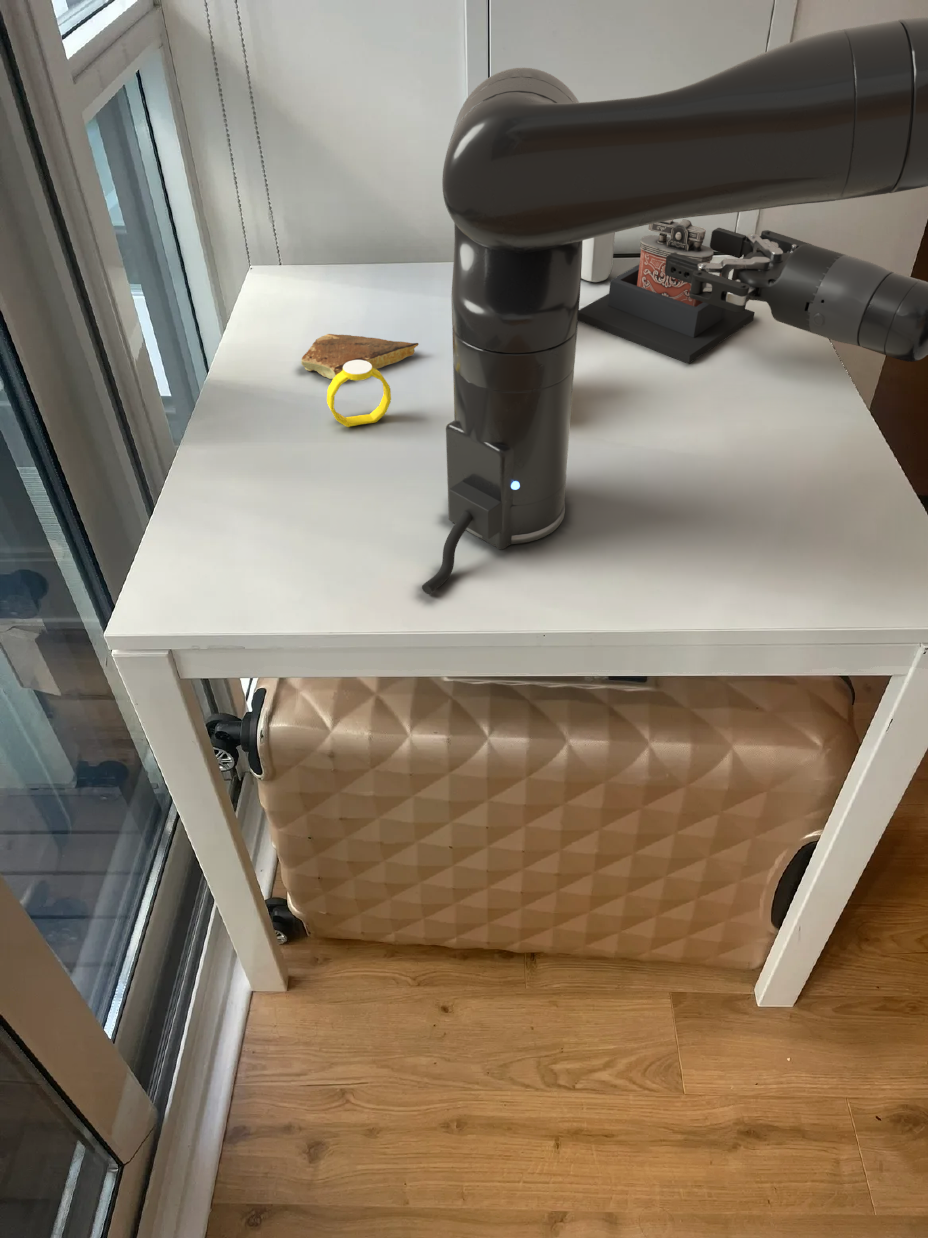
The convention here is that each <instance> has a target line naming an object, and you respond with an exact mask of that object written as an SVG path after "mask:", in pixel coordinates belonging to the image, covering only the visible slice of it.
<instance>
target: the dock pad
mask: <svg viewBox="0 0 928 1238" xmlns="http://www.w3.org/2000/svg"><path fill="white" fill-rule="evenodd" d="M639 265H640V263H639V264H637V265H636V266H634V267H631V268H630V269H628V270H626V271H625V272H623V273H621V274H619V275H618V276H616V277H614V278H612V279H610V281H609V290H608V293H607V294H606V295H604V296H601V297H600V298H598V299H596V300H594V301H593V302H591V303H590V304H588V305H585V306H584V307H582V308H581V309H580V308H579V312H578V322H581V323H583V324H586V325H588V326H591V327H594V328H597V329H599V330H601V331H604V332H606V333H609V334H611V335H614V336H617V337H620V338H622V339H625V340H627V341H630V342H633V343H635V344H637V345H639V346H642V347H645V348H648V349H649V350H653V351H655V352H658V353H661V354H663V355H665V356H668V357H671V358H673V359H676V360H677V361H681V362H683V363H685V364H689V365H690V363H692V362H694V361H695V360H697V359H698V358H700V357H701V356H703V355H704V354H706V353H707V352H708V351H710V350H712V349H713V348H714V347H716V346H717V345H719V344H720V343H723V341H725V340H726V339H728V338H729V337H731V336H732V335H734V334H735V333H736V332H738V331H739V330H741V329H743V328H745V326H747V325H749V324H750V323H752V322H753V321H754V319H755V315H756V313H755V311H753V310H750V309H747V308H745V311H744V312H742V313H737V312H734V311H730V310H727V309H724V308H721V307H718V306H714V305H711V304H708V303H705V302H703V303H701V304H700V305H698V306H697V307H695V306H692V305H689V304H686V303H683V302H681V301H678V300H675V299H672V298H669V297H667V296H664V295H661V294H658V293H655V292H652V291H650V290H647V289H644V288H641V287H638V286H637V282H638V274H639ZM705 292H707V293H710V294H711V292H709V291H705Z"/></svg>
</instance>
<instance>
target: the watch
mask: <svg viewBox="0 0 928 1238" xmlns="http://www.w3.org/2000/svg"><path fill="white" fill-rule="evenodd" d="M371 377H374V378H375V379H377V380H380V382H381V383H382V390H383V391H382V392H383V395H382V397H381V399H380V402H379V405H378V406H376V408H375V409H373V410H372V411H371V412H370V413H367V414H360V415H359V414H358V415H352V416H344V415H342V414H340V413H339V412H337V410H336V409H335V397H336V394H337V392H338V391H339V389H340V387H341V386H342V385H343V384H344V383H346V382H347V381H349V380H351V381H363V380H364V381H365V380H367V379H370V378H371ZM391 400H392V392H391V386H390V385H389V382H387V380H386V379H385V377H384V375H383V374H382V373H381V371H379V370H378V369H374V368H373V367H372V365H371V364H370V363H369V362H367V361H364V360H352V361H349V362H347V363H345V364H344V365H343V371H341V372H340V373H339V374H337V375H336V376H335V377H334V378H333V379H331V382H330V383H329V385H328V387H327V390H326V403H327V406H328V408H329V410H330V412H331V414H332V415H333V417H334V419H335V421H336V422H338V423H340V424H341V425H343V426H344V427H346V428H350V427H355V426H361V425H366V424H367V425H368V424H375V423H377V422H378V421H379V420H381V418H383V417H384V415H386V414H387V412H388V410H389V407H390V404H391V402H392V401H391Z"/></svg>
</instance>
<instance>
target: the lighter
mask: <svg viewBox="0 0 928 1238" xmlns="http://www.w3.org/2000/svg"><path fill="white" fill-rule="evenodd" d="M648 231H650V232H653V233H654V232H655V233H659V234H657V235H656V234H647V235H644V236H642V237H641V238H640V241H639V242H640V244H639V248H640V258H639V264H640V265H639V264H638V265H639V274H638V282H637V286H638V287H641V288H644V289H647V290H650V291H652V292H655V293H658V294H661V295H664V296H667V297H669V298H672V299H675V300H678V301H681V302H683V303H686V304H689V305H692V306H695V307H697V306H698V305H700V304H701V303H703V302H702V301H698V300H695V299H692V298H690V297H689V294H690V289H691V284H690V283H687V282H684V281H681V280H678V279H675V278H672V277H669V276H667V275H666V274H665V264H666V257H667V256H668V255H670V254H671V253H677V254H680V255H683V256H686V257H689V258H692V259H695V260H698V261H701V262H702V263H711V262H712V261H713V259H714V252H715V251H714V250H713V249H712V248H710V246H706V245H704V244H703V243H704V241H705V238H706V232H707V229H706V228H704V227H701V226H697V225H693V224H692V221H691V220H690V219H687V218H682V219H681V220H680V221H679V222H678V221H674V220H668V221H663V222H658V223H653V224H648ZM704 292H705V291H704Z"/></svg>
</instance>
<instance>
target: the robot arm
mask: <svg viewBox="0 0 928 1238" xmlns="http://www.w3.org/2000/svg"><path fill="white" fill-rule="evenodd" d="M441 181H442V182H441V183H442V187H441V188H442V196H443V200H444V203H445V204H444V205H445V207H446V210H447V212H448V214H449V217H450V218H451V220H452V221H453V223H454V225H453V226H454V227H453V228H454V242H453V243H454V246H453V265H452V266H453V267H452V268H453V270H452V279H451V280H452V281H451V283H452V284H451V295H450V297H451V298H450V300H451V325H452V326H451V327H452V329H451V330H452V331H451V332H452V373H453V375H452V376H453V413H454V416H453V417H454V418H453V419H454V420H452V421H450V422H448V424H447V425H446V426H445V445H446V446H445V447H446V477H447V478H446V479H447V480H446V481H447V507H448V508H447V509H448V521H450V522H452V523H453V524H454V525H453V526H452V528H451V530H450V531H449V533H448V535H447V538H446V539H445V541H444V545H443V549H442V562H441V566H440V568H439V570H438V571H437V573H436V574H435V575H434V576H432V577H431V578H429V579H428V580H426V582H424V583H423V584H422V585H421V589H422V591H423V592H424V593H425V594H426V595H431V594H432V593H433V592H434V591H435V590H437V589H438V588H440V587H441V586H442V585H443V584H445V583H446V581H447V580H448V579H449V577H450V576H451V574H452V572H453V570H454V566H455V554H456V549H457V546H458V544H459V541H460V540H461V538H462V536H463V534H464V533H465V532H466V531H467V532H469V533H470V534H472V536H475V537H477V538H479V539H481V540H483V541H484V542H486V543H488V544H490V545H492V546H493V547H495V548H497V549H499V550H505V549H506V548H507V547H509V546H511V545H515V544H525V543H530V542H535V541H537V540H540V539H542V538H545V537H547V536H549V535H550V534H552V533H553V532H554V531H555V530H557V528H559V526H560V525H561V524H562V523H563V520H564V518H565V514H566V485H567V483H566V482H567V471H568V470H567V469H568V458H569V457H568V456H569V443H570V429H571V417H572V416H571V415H572V403H573V388H574V377H575V363H576V354H577V353H576V352H577V341H578V340H577V338H578V337H577V336H578V325H579V321H578V312H579V310H580V301H581V286H582V285H581V284H582V278H581V267H582V244H583V240H586V239H590V238H594V237H598V236H602V235H606V234H610V233H614V232H615V233H620V232H623V231H627V230H631V229H634V228H639V227H644V226H649V224H653V223H658V222H663V221H668V220H673V221H674V220H678V219H688V218H696V217H705V216H715V215H724V214H726V215H727V214H732V213H733V214H735V213H742V212H750V211H757V210H765V209H772V208H781V207H788V206H796V205H797V206H798V205H805V204H816V203H829V202H835V201H843V200H851V199H858V198H865V197H873V196H881V195H887V194H894V193H895V194H896V193H899V192H905V191H911V190H916V189H922V188H927V187H928V16H920V17H919V16H918V17H907V18H901V19H897V20H890V21H885V22H879V23H873V24H867V25H866V24H865V25H860V26H855V27H849V28H843V29H836V30H832V31H826V32H822V33H818V34H814V35H811V36H807V37H803V38H800V39H797V40H794V41H791V42H788V43H785V44H782V45H780V46H778V47H774V48H772V49H770V50H767V51H765V52H762V53H760V54H757V55H755V56H753V57H750V58H748V59H746V60H744V61H742V62H739V63H738V64H735V65H733V66H731V67H728V68H727V69H724V70H722V71H720V72H718V73H715V74H713V75H710V76H709V77H705V78H704V79H701V80H699V81H697V82H695V83H691V84H688V85H686V86H683V87H680V88H676V89H673V90H668V91H664V92H661V93H655V94H650V95H642V96H637V97H627V98H618V99H610V100H609V99H608V100H598V101H584V102H583V101H582V102H580V101H579V100H578V98H577V96H576V95H575V94H574V92H573V91H572V90H571V89H570V88H569V87H568V86H567V85H566V84H565V83H564V82H563V81H561V80H560V79H559V78H558V77H556V76H554V75H552V74H551V73H548V72H547V71H544V70H541V69H538V68H533V67H514V68H508V69H505V70H501V71H499V72H496V73H495V74H493V75H490V76H489V77H488V78H486V79H485V80H483V81H482V82H481V83H480V84H479V85H477V86H476V87H475V88H474V90H473V91H471V93H470V94H469V96H467V98H466V100H465V101H464V102H463V104H462V106H461V108H460V109H459V112H458V114H457V117H456V120H455V123H454V126H453V129H452V133H451V136H450V140H449V142H448V146H447V150H446V153H445V157H444V161H443V167H442V177H441ZM710 235H711V236H710V241H709V247H710V248H712V249H713V250H714V252H717V253H721V254H723V255H727V256H730V257H733V258H724V259H722V260H721V261H720V262H710V263H702V262H701V261H698V260H695V259H692V258H689V257H686V256H683V255H680V254H677V253H671V254H670V255H668V256H667V257H666V264H665V274H666V275H667V276H669V277H672V278H675V279H678V280H681V281H684V282H687V283H690V284H691V289H690V294H689V297H690V298H692V299H695V300H698V301H702V302H705V303H708V304H711V305H714V306H718V307H721V308H724V309H727V310H730V311H734V312H737V313H742V312H744V311H745V309H746V306H747V304H748V302H749V301H756V302H763V303H766V304H768V307H769V309H770V313H771V316H772V318H773V319H774V320H775V321H777V322H779V323H782V324H785V325H788V326H791V327H793V328H796V329H799V330H802V331H805V332H808V333H811V334H814V335H817V336H820V337H822V338H826V339H829V340H831V341H834V342H838V343H842V344H847V345H853V346H856V347H861V348H863V349H866V350H869V351H872V352H875V353H877V354H881V355H883V356H886V357H888V358H889V357H890V358H893V359H896V360H899V361H903V362H909V363H912V362H913V363H914V362H918V361H920V360H922V359H924V358H925V357H927V356H928V281H926V280H923V279H919V278H915V277H912V276H909V275H905V274H901V273H898V272H895V271H892V270H890V269H888V268H885V267H883V266H881V265H879V264H877V263H874V262H871V261H869V260H865V259H862V258H858V257H855V256H851V255H848V254H846V253H845V254H844V253H841V252H838V251H834V250H831V249H828V248H824V247H821V246H817V245H815V244H811V243H809V242H806V241H803V240H800V239H797V238H793V237H791V236H787V235H784V234H782V233H778V232H774V231H772V230H769V229H766V230H765V229H764V230H762V231H761V233H760V235H758V234H756V233H748V234H747V235H746V234H742V233H739V232H736V231H732V230H729V229H726V228H723V227H716V228H715V229H713V230H712V231H711V234H710ZM773 243H775V244H777V247H776V246H775V245H774V244H773ZM731 271H732V276H731V278H729V277H730V272H731ZM717 274H719V275H717ZM704 291H709V292H711V294H710V293H707V292H704Z"/></svg>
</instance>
